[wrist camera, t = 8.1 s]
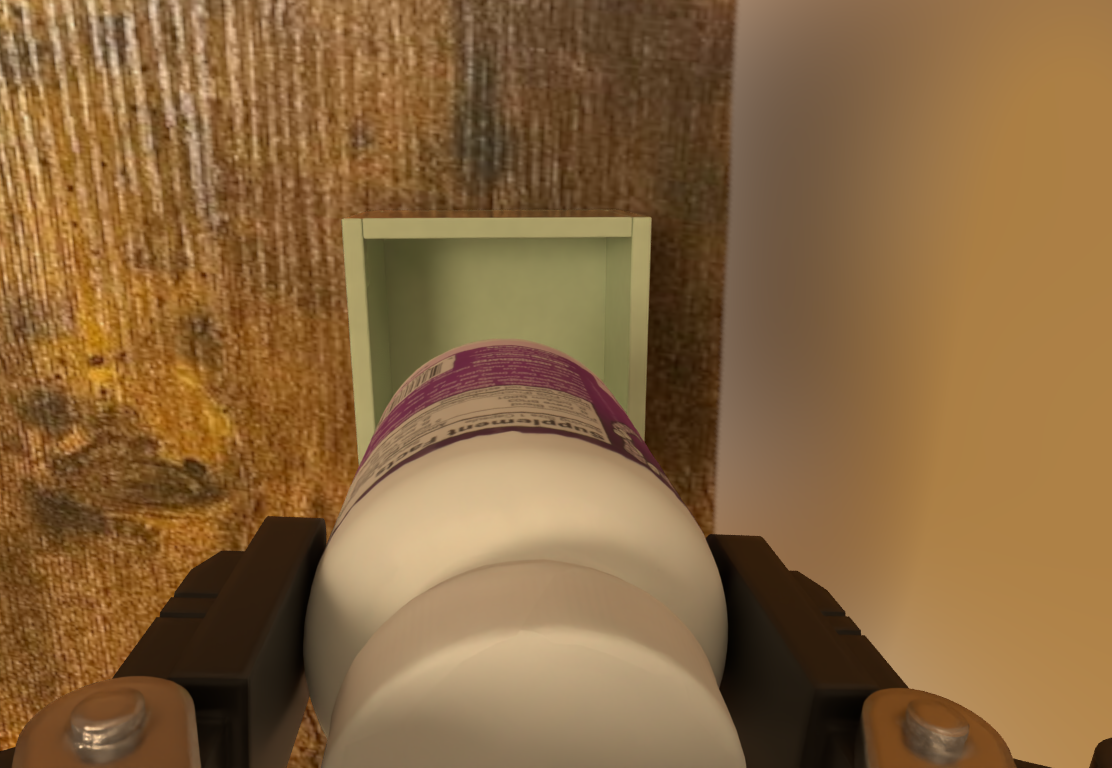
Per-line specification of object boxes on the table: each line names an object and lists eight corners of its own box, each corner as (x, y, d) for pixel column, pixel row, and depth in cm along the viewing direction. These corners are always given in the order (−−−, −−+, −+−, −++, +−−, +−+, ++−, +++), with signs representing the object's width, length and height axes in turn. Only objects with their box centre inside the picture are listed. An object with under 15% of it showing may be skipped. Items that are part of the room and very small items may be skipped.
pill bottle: (640, 550, 17) (836, 999, 8) (400, 590, 17) (305, 1108, 7) (614, 311, 16) (818, 514, 6) (349, 350, 15) (154, 624, 6)
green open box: (382, 450, 30) (361, 510, 25) (367, 210, 28) (340, 218, 22) (614, 443, 31) (643, 499, 26) (620, 209, 29) (652, 217, 23)
